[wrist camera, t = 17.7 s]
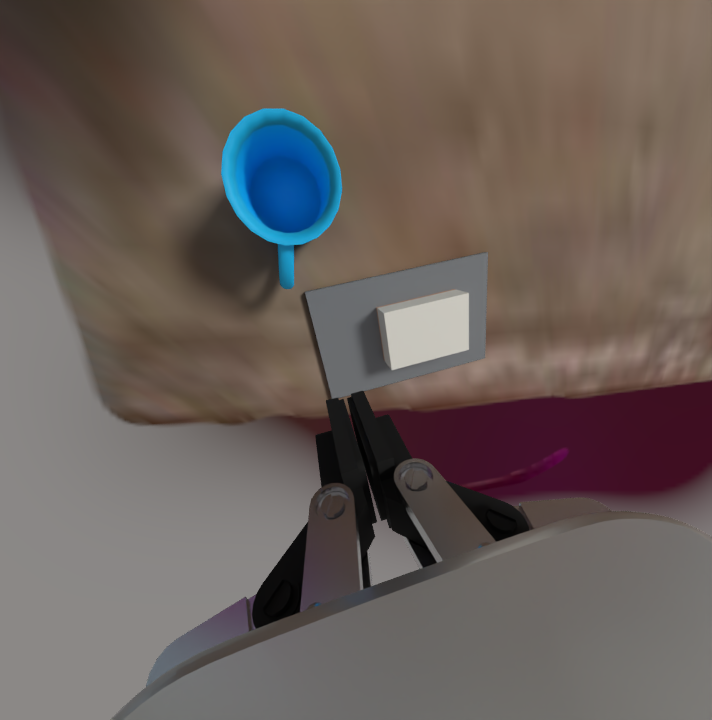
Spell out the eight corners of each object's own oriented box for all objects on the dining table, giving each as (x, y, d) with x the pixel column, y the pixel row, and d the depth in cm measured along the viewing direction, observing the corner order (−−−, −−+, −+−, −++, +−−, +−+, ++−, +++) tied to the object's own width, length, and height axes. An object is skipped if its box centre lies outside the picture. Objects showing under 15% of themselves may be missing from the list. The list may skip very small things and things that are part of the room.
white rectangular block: (383, 313, 29) (468, 292, 30) (376, 307, 32) (454, 289, 33) (391, 370, 32) (468, 349, 33) (383, 360, 35) (455, 341, 36)
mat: (304, 291, 30) (305, 292, 29) (484, 252, 33) (487, 252, 32) (331, 397, 36) (332, 399, 35) (482, 356, 39) (484, 358, 38)
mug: (238, 141, 24) (214, 95, 17) (330, 156, 26) (345, 120, 18) (247, 281, 28) (232, 294, 21) (325, 285, 30) (336, 298, 23)
